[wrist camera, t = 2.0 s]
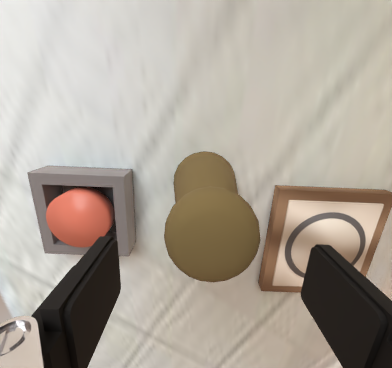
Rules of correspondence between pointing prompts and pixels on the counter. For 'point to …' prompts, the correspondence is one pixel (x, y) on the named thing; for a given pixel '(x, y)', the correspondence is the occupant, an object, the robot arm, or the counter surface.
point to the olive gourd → (210, 221)
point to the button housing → (84, 176)
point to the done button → (80, 216)
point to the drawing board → (320, 230)
